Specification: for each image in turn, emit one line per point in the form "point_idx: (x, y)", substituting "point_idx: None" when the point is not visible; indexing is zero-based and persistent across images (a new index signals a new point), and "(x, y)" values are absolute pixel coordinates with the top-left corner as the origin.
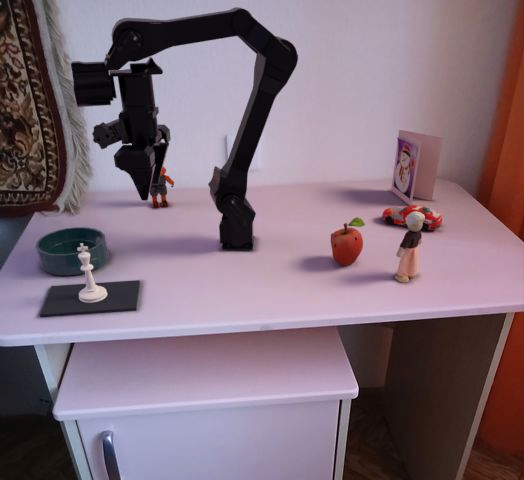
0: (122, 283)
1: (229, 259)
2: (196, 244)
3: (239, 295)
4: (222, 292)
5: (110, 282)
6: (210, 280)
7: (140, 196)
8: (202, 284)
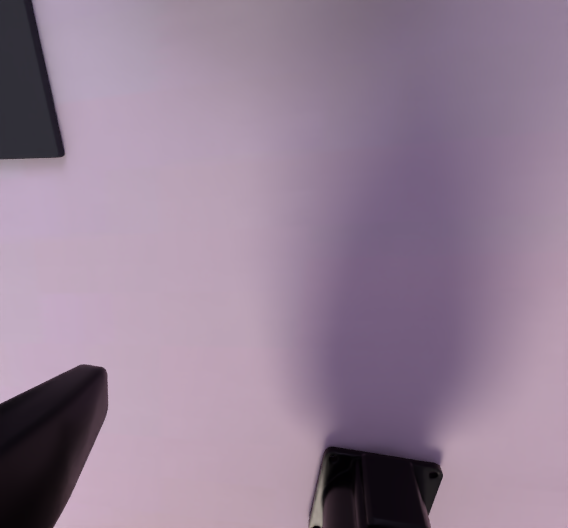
0: (20, 82)
1: (253, 458)
2: (403, 366)
3: None
4: None
5: (23, 18)
6: None
7: (42, 387)
8: None
